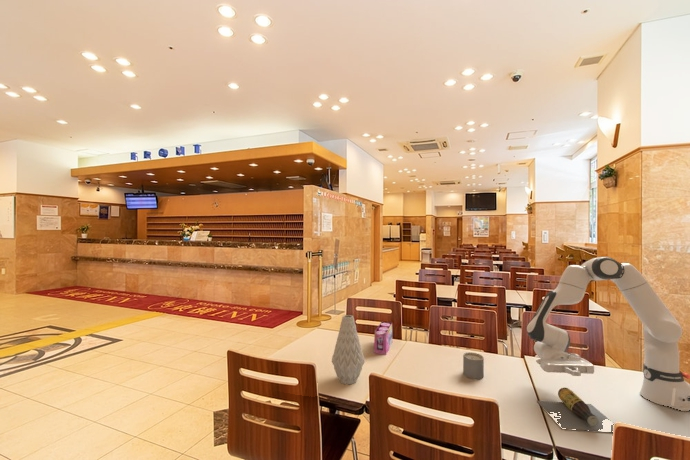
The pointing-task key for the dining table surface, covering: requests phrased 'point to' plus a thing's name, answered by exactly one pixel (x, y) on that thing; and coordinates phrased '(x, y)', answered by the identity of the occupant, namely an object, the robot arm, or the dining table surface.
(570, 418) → the placemat
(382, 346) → the pink multipack
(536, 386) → the dining table surface
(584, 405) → the sauce bottle
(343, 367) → the vase
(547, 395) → the dining table surface
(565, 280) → the robot arm
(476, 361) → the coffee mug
